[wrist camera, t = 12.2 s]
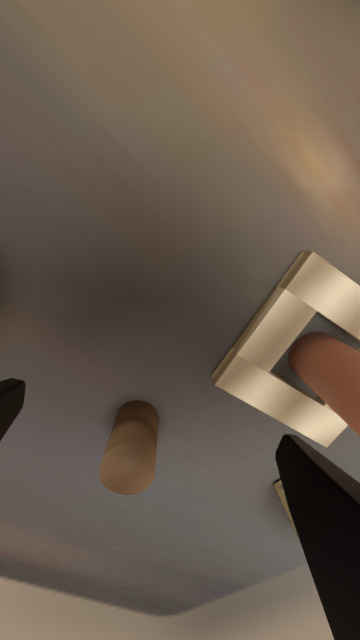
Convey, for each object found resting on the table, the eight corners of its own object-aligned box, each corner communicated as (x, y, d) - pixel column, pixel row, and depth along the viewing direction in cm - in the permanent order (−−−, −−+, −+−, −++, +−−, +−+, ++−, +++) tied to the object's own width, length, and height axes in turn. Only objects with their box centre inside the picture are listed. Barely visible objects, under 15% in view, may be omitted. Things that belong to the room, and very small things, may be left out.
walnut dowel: (109, 425, 24) (89, 481, 18) (129, 393, 23) (115, 442, 17) (145, 442, 24) (137, 502, 19) (166, 412, 24) (165, 465, 18)
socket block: (211, 375, 23) (214, 384, 21) (302, 251, 20) (313, 251, 18) (317, 435, 25) (326, 447, 23) (411, 331, 22) (429, 337, 21)
